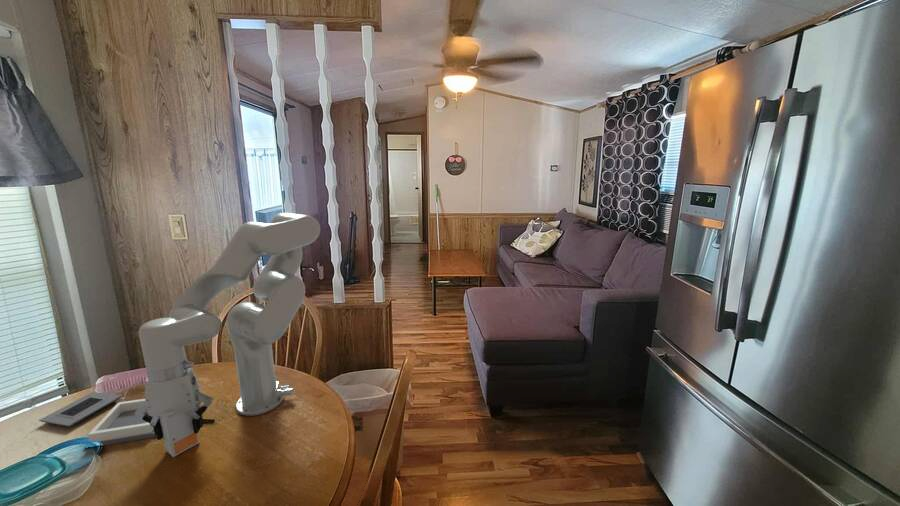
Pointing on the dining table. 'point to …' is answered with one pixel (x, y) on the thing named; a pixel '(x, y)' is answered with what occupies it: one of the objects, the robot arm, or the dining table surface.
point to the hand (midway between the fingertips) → (180, 432)
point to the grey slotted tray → (80, 409)
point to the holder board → (122, 425)
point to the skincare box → (178, 432)
